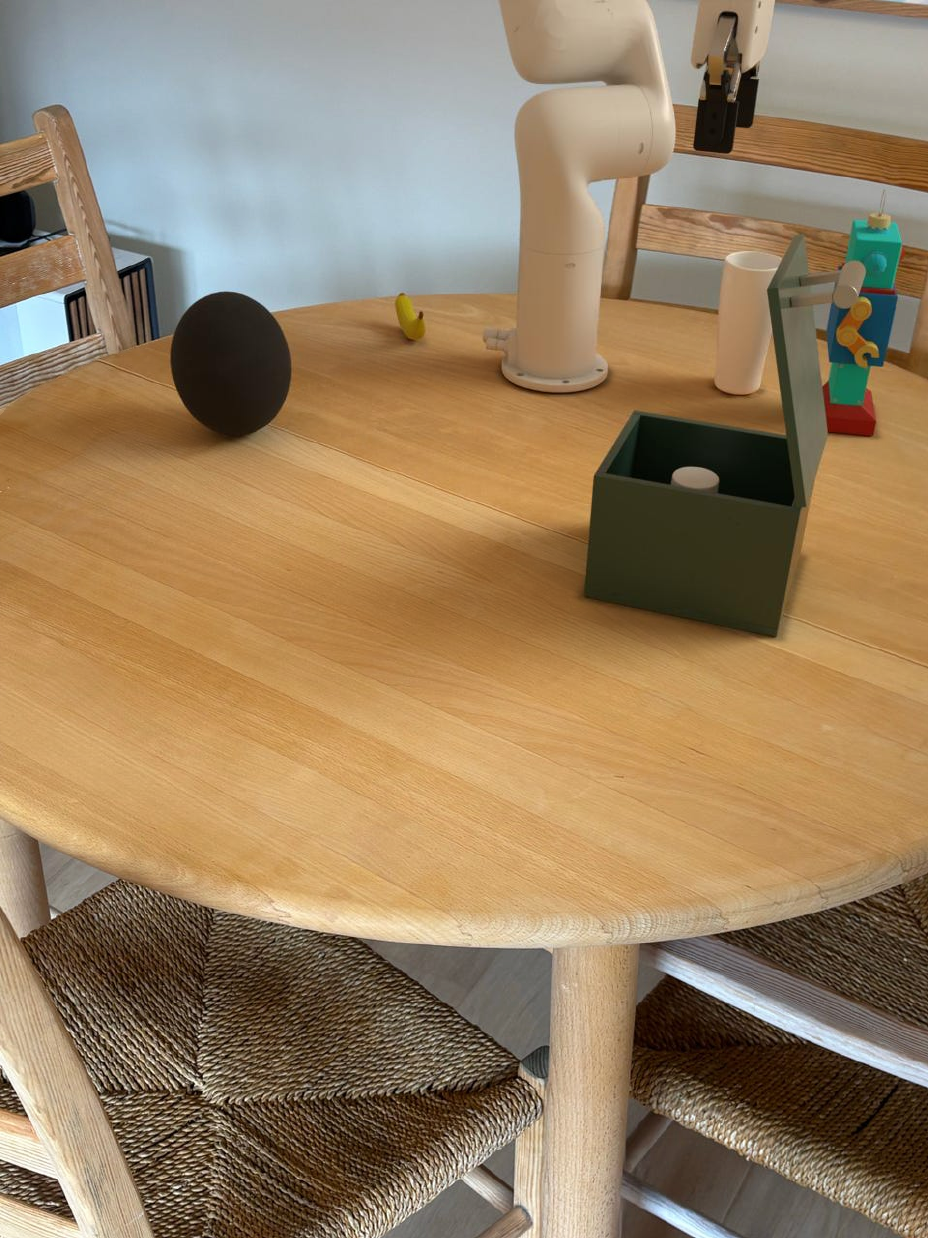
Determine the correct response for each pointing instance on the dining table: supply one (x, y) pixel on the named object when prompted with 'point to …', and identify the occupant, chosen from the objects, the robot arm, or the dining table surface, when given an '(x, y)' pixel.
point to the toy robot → (862, 326)
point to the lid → (804, 355)
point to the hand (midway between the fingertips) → (723, 138)
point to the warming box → (696, 524)
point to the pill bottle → (696, 479)
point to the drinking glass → (744, 321)
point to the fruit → (409, 318)
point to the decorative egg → (230, 363)
